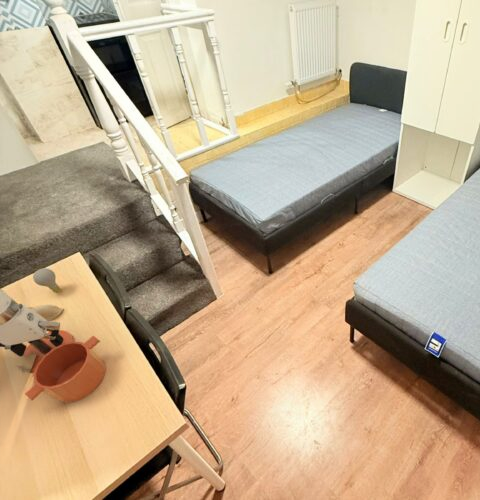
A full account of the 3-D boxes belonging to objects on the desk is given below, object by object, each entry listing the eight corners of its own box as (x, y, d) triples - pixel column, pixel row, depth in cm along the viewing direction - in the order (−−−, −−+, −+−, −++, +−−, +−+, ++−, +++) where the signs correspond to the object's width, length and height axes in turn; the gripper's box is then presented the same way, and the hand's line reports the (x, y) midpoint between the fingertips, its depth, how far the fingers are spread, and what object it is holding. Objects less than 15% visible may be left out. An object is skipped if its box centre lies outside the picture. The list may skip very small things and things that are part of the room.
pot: (34, 396, 86) (11, 382, 80) (96, 342, 97) (80, 326, 91) (61, 421, 82) (39, 408, 76) (123, 362, 92) (108, 346, 86)
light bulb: (45, 293, 111) (25, 273, 104) (62, 282, 114) (43, 262, 107) (53, 300, 109) (33, 280, 101) (70, 289, 112) (52, 269, 105)
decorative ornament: (59, 319, 103) (48, 309, 99) (30, 323, 102) (19, 313, 99) (64, 308, 106) (54, 298, 102) (36, 312, 105) (25, 302, 101)
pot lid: (13, 360, 94) (-5, 347, 89) (58, 325, 102) (43, 311, 97) (38, 382, 89) (20, 370, 84) (83, 344, 97) (69, 331, 92)
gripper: (42, 292, 85) (79, 329, 97) (-35, 307, 82) (13, 343, 95) (32, 316, 80) (72, 351, 92) (-50, 333, 77) (2, 367, 89)
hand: (42, 347), depth 93 cm, fingers open, 9 cm apart
